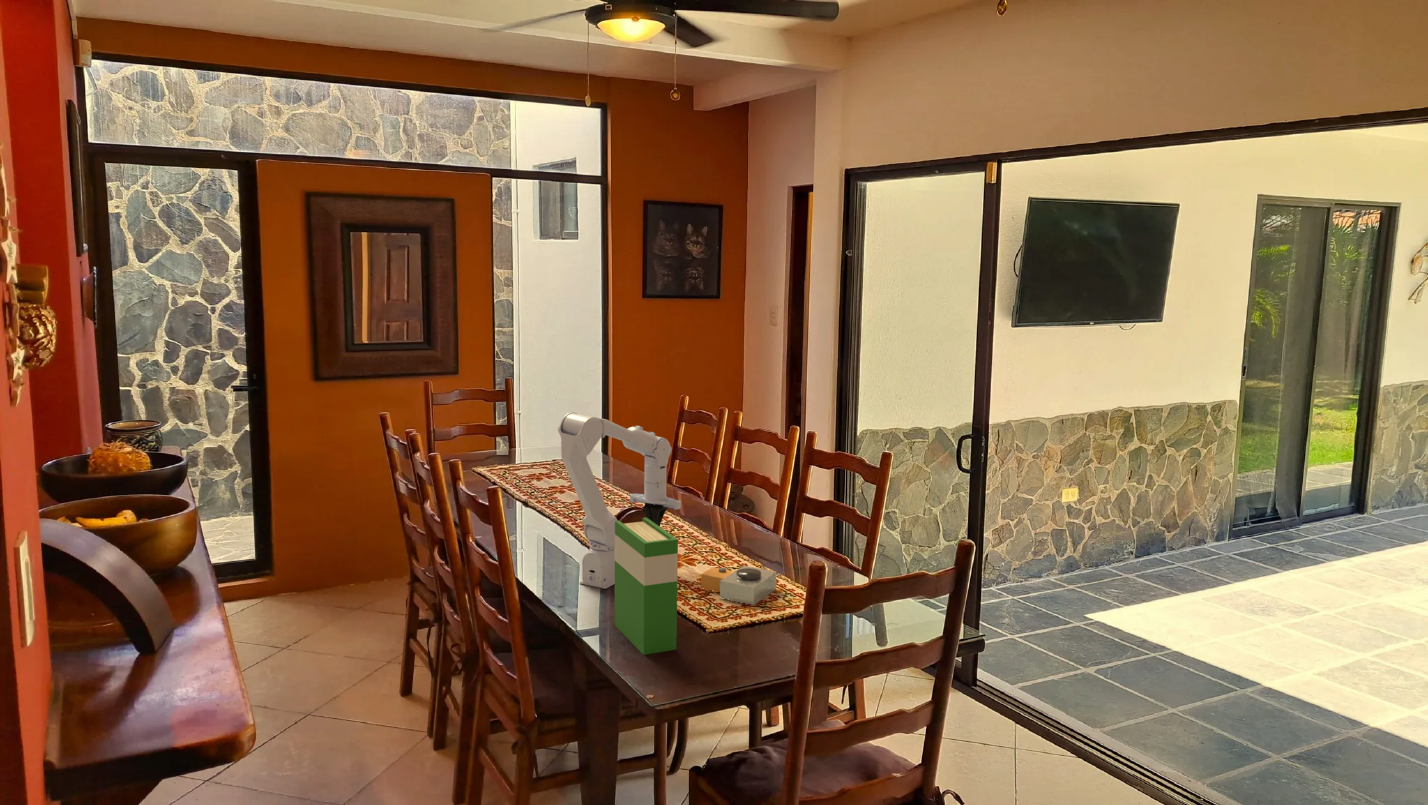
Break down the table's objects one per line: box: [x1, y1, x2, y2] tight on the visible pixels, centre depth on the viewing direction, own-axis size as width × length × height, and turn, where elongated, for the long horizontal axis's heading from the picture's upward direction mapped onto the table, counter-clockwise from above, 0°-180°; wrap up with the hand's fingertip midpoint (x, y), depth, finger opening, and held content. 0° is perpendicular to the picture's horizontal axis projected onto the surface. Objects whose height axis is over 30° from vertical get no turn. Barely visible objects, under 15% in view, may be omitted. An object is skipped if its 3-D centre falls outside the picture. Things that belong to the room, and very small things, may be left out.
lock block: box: [700, 567, 735, 592], centre depth 240 cm, size 6×7×5 cm
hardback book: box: [613, 517, 679, 656], centre depth 208 cm, size 18×7×24 cm, turn 26°
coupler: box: [719, 565, 777, 606], centre depth 238 cm, size 13×15×6 cm
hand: (654, 531), depth 254 cm, fingers closed
